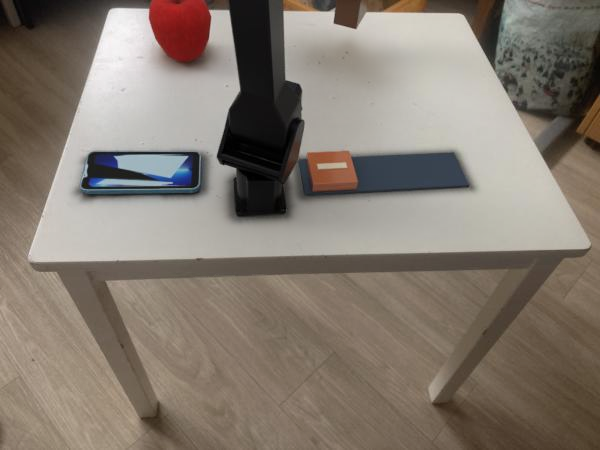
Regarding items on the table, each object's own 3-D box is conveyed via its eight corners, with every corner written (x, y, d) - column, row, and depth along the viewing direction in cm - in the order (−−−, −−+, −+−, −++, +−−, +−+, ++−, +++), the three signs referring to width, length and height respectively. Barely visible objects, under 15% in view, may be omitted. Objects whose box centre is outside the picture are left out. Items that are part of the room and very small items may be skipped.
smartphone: (199, 189, 63) (77, 190, 61) (200, 194, 63) (79, 196, 61) (201, 150, 67) (88, 150, 65) (201, 155, 68) (89, 155, 66)
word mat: (304, 196, 64) (305, 194, 64) (298, 161, 68) (298, 159, 68) (468, 186, 67) (469, 184, 67) (453, 154, 71) (454, 152, 71)
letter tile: (312, 191, 64) (313, 183, 63) (306, 160, 68) (306, 151, 67) (356, 189, 65) (358, 180, 64) (347, 158, 69) (349, 149, 67)
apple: (225, 59, 83) (221, -4, 74) (177, 79, 78) (167, 14, 70) (192, 34, 87) (185, -29, 78) (144, 52, 82) (131, -13, 74)
